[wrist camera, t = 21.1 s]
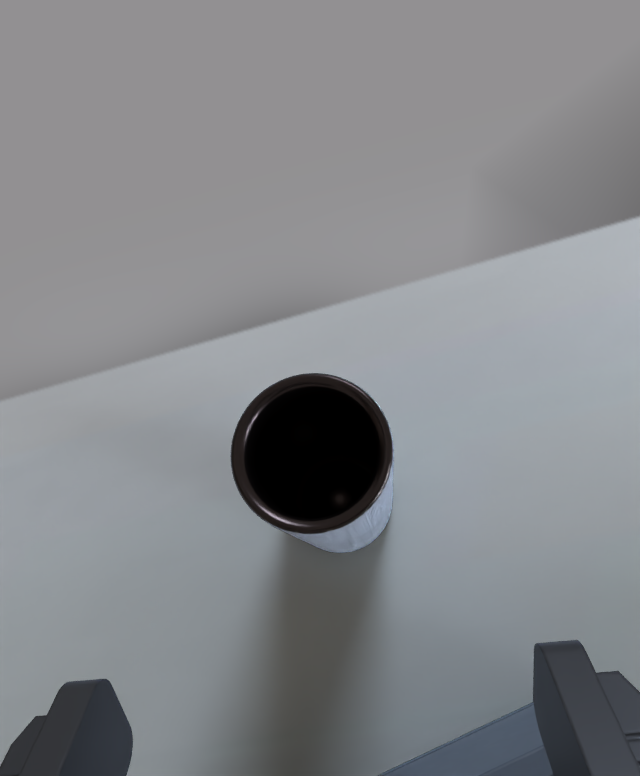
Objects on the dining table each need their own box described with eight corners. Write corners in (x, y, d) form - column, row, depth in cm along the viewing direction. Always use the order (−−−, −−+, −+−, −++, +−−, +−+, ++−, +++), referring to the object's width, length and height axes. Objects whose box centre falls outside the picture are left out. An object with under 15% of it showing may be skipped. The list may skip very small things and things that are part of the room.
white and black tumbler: (275, 530, 25) (202, 498, 15) (312, 436, 26) (266, 352, 17) (372, 569, 24) (359, 561, 14) (406, 469, 25) (416, 400, 16)
